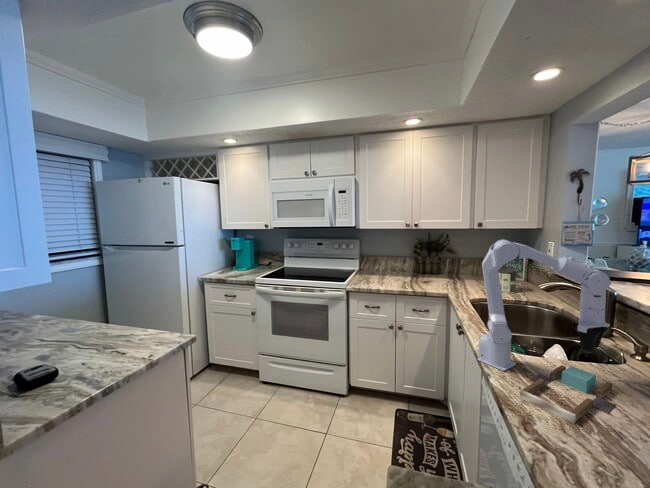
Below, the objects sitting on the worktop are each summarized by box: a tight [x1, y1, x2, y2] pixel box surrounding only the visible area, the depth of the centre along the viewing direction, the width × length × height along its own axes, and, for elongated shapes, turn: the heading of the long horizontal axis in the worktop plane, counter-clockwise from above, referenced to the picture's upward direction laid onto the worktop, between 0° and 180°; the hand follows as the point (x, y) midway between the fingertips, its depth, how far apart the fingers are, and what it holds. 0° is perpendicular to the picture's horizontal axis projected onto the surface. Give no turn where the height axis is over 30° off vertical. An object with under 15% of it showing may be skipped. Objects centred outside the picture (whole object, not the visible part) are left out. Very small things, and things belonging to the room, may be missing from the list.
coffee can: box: [498, 268, 517, 294], centre depth 187 cm, size 10×10×14 cm
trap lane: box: [519, 364, 617, 425], centre depth 82 cm, size 18×26×2 cm
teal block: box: [561, 366, 597, 394], centre depth 86 cm, size 6×6×4 cm
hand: (590, 348), depth 89 cm, fingers open, 4 cm apart
